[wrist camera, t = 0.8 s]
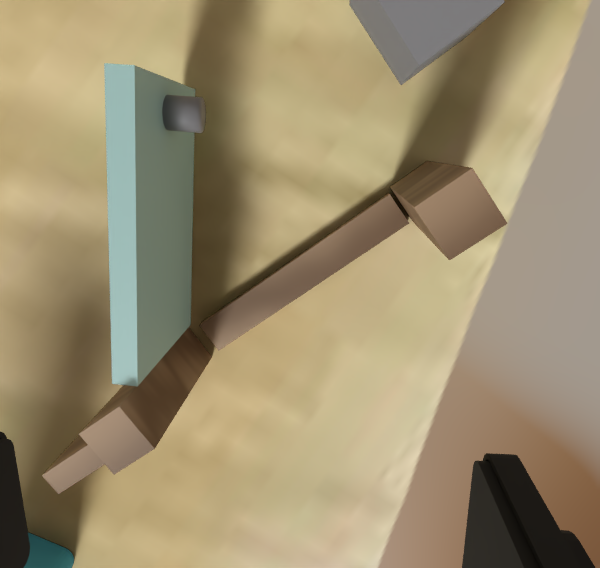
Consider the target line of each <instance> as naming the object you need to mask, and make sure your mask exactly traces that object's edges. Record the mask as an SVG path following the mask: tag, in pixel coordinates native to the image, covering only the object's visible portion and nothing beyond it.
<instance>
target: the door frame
mask: <svg viewBox="0 0 600 568" xmlns="http://www.w3.org/2000/svg"><path fill="white" fill-rule="evenodd" d="M390 188H391V189H392V191H393V192H394V194H395V195H396V197H397V198H398V200H399V201H400V203H401V204H402V206H403V207H404V209H405V210H406V212H407V213H408V215H409V216H410V218H411V219H412V221H413V222H414V223H415V224H416V225H417V227H418V228H419V229H420V230H421V231H422V232H423V233H424V234H425V235H426V236H427V237H428V238H429V239H430V240H431V241H432V242H433V243H434V244H435V246H436V247H437V248H438V249H439V250H440V251H441V252H442V253H443V254H444V255H445V256H446V257H447V258H448V259H449V260H451V259H452V258H454V257H456V256H457V255H459V254H460V253H462V252H463V251H465V250H467V249H468V248H470V247H471V246H473V245H474V244H476V243H477V242H479V241H481V240H482V239H484V238H485V237H487V236H488V235H490V234H492V233H493V232H495V231H496V230H498V229H499V228H501V227H503V226H504V225H506V224H507V222H506V220H505V219H504V217H503V216H502V214H501V212H500V211H499V209H498V208H497V206H496V205H495V203H494V201H493V200H492V198H491V197H490V195H489V193H488V192H487V190H486V189H485V187H484V185H483V184H482V182H481V181H480V179H479V178H478V176H477V174H476V173H475V171H474V170H473V168H469V167H463V166H456V165H450V164H444V163H437V162H431V161H426V162H425V163H423V164H422V165H421V166H419V167H418V168H416V169H415V170H413V171H412V172H410V173H409V174H408V175H406V176H405V177H403V178H402V179H400V180H399V181H397V182H396V183H395V184H393V185H392V186H390ZM407 224H409V222H408V221H407V219H406V218H405V216H404V215H403V213H402V212H401V210H400V209H399V207H398V206H397V204H396V203H395V201H394V200H393V198H392V197H391V195H390V194H389V193H388V194H386V195H385V196H383V197H382V198H380V199H379V200H378V201H376V202H375V203H373V204H372V205H370V206H369V207H367V208H366V209H365V210H363V211H362V212H360V213H359V214H357V215H356V216H354V217H353V218H352V219H350V220H349V221H347V222H346V223H344V224H343V225H341V226H340V227H339V228H337V229H336V230H334V231H333V232H331V233H330V234H328V235H327V236H326V237H324V238H323V239H321V240H320V241H318V242H317V243H315V244H314V245H312V246H311V247H310V248H308V249H307V250H305V251H304V252H302V253H301V254H299V255H298V256H297V257H295V258H294V259H292V260H291V261H289V262H288V263H286V264H285V265H284V266H282V267H281V268H279V269H278V270H276V271H275V272H273V273H272V274H271V275H269V276H268V277H266V278H265V279H263V280H262V281H260V282H259V283H257V284H256V285H255V286H253V287H252V288H250V289H249V290H247V291H246V292H244V293H243V294H242V295H240V296H239V297H237V298H236V299H234V300H233V301H231V302H230V303H229V304H227V305H226V306H224V307H223V308H221V309H220V310H218V311H217V312H216V313H214V314H213V315H211V316H210V317H208V318H207V319H205V320H204V321H203V322H202V323H201V324H200V325H199V326H200V327H201V329H202V330H203V331H204V333H205V334H206V335H207V336H208V338H209V339H210V340H211V341H212V343H213V344H214V345H215V347H216V348H217V349H218V350H220V349H222V348H223V347H225V346H226V345H228V344H229V343H231V342H232V341H234V340H235V339H237V338H238V337H240V336H241V335H243V334H244V333H246V332H247V331H249V330H250V329H252V328H253V327H255V326H256V325H258V324H259V323H261V322H262V321H264V320H265V319H267V318H268V317H270V316H271V315H273V314H274V313H276V312H277V311H279V310H280V309H282V308H283V307H285V306H286V305H288V304H289V303H291V302H292V301H294V300H295V299H297V298H298V297H300V296H301V295H303V294H304V293H306V292H307V291H308V290H310V289H311V288H313V287H314V286H316V285H317V284H319V283H320V282H322V281H323V280H325V279H326V278H328V277H329V276H331V275H332V274H334V273H335V272H337V271H338V270H340V269H341V268H343V267H344V266H346V265H347V264H349V263H350V262H352V261H353V260H355V259H356V258H358V257H359V256H361V255H362V254H364V253H365V252H367V251H368V250H370V249H371V248H373V247H374V246H376V245H377V244H379V243H380V242H382V241H383V240H385V239H386V238H388V237H389V236H391V235H392V234H394V233H395V232H397V231H398V230H400V229H401V228H403V227H404V226H406V225H407ZM211 358H212V356H211V355H210V354H209V353H208V351H207V350H206V349H205V347H204V346H203V345H202V344H201V342H200V341H199V340H198V339H197V337H196V336H195V335H194V333H193V332H192V331H191V330H190V328H189V327H188V328H187V330H186V331H185V332H184V333H183V334H182V335H181V337H180V338H179V339H178V340H177V341H176V342H175V344H174V345H173V346H172V347H171V348H170V349H169V350H168V352H167V353H166V354H165V355H164V356H163V357H162V359H161V360H160V361H159V362H158V363H157V364H156V366H155V367H154V368H153V369H152V370H151V371H150V373H149V374H148V375H147V376H146V377H145V378H144V380H143V381H142V382H141V383H140V384H139V385H138V387H137V386H128V385H123V386H122V388H121V389H120V390H119V391H118V392H117V393H116V394H115V395H114V396H113V397H112V398H111V399H110V401H109V402H108V403H107V404H106V405H105V406H104V407H103V408H102V409H101V410H100V411H99V412H98V414H97V415H96V416H95V417H94V418H93V419H92V420H91V421H90V422H89V423H88V424H87V425H86V427H85V428H84V429H83V430H82V431H81V432H80V433H79V435H78V437H77V438H76V439H75V440H74V441H73V442H72V443H71V444H70V445H69V446H68V447H67V448H66V450H65V451H64V452H63V453H62V454H61V455H60V456H59V457H58V458H57V459H56V460H55V462H54V463H53V464H52V465H51V466H50V467H49V468H48V469H47V470H46V471H45V472H44V474H43V475H42V476H43V477H44V479H45V480H46V481H47V482H48V483H49V484H50V485H51V486H52V487H53V489H54V490H55V491H56V492H57V493H58V494H60V493H61V492H63V491H64V490H66V489H67V488H69V487H70V486H72V485H74V484H75V483H77V482H78V481H80V480H81V479H83V478H84V477H86V476H87V475H89V474H91V473H92V472H94V471H95V470H97V469H98V468H100V467H101V466H103V465H104V464H105V465H106V466H107V467H108V468H109V469H110V471H111V472H112V473H113V474H116V473H117V472H119V471H120V470H122V469H124V468H125V467H127V466H128V465H130V464H131V463H133V462H135V461H136V460H138V459H139V458H141V457H142V456H144V455H145V454H147V453H149V452H150V451H152V450H153V449H155V447H156V446H157V444H158V442H159V441H160V439H161V438H162V436H163V434H164V433H165V431H166V430H167V428H168V426H169V425H170V423H171V422H172V420H173V418H174V417H175V415H176V414H177V412H178V410H179V409H180V407H181V406H182V404H183V402H184V401H185V399H186V398H187V396H188V394H189V393H190V391H191V390H192V388H193V386H194V385H195V383H196V382H197V380H198V378H199V377H200V375H201V374H202V372H203V370H204V369H205V367H206V366H207V364H208V362H209V361H210V359H211Z"/></svg>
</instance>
